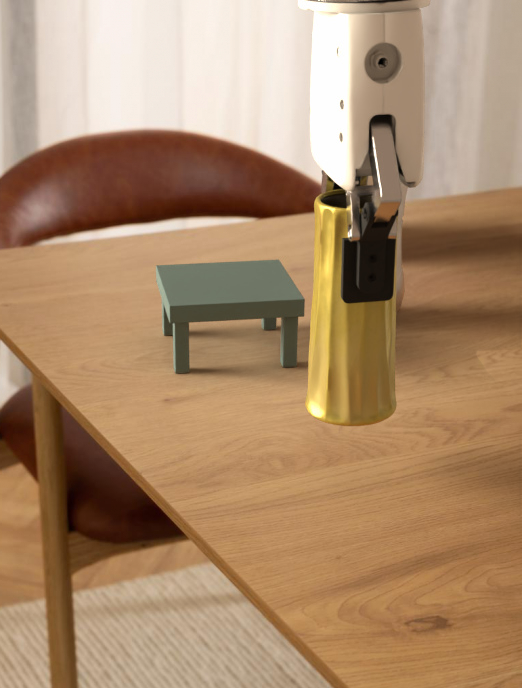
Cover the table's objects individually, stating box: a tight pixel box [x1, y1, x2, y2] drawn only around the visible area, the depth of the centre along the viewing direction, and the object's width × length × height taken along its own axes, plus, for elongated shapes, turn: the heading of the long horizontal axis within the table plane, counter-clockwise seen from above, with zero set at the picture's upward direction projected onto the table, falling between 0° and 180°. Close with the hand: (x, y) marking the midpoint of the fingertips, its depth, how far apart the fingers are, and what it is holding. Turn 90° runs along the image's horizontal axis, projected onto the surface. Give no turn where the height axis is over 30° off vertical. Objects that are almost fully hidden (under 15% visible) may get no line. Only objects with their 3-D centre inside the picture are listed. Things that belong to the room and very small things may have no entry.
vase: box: [304, 189, 399, 427], centre depth 77 cm, size 6×6×14 cm
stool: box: [155, 259, 306, 374], centre depth 101 cm, size 11×11×6 cm
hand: (354, 281), depth 76 cm, fingers closed on vase, 5 cm apart
